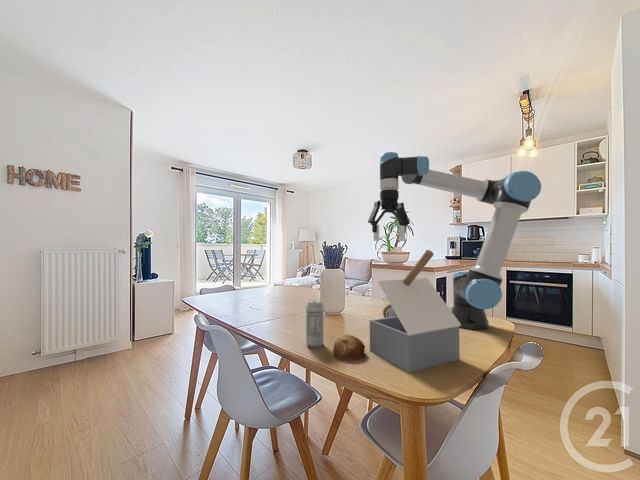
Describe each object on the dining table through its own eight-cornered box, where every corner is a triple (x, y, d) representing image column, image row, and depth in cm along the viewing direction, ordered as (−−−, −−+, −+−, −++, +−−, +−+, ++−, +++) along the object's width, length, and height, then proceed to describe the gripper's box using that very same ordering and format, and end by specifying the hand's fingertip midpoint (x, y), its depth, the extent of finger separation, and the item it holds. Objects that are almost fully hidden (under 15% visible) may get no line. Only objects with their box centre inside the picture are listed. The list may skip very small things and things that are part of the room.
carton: (415, 341, 101) (415, 313, 101) (459, 359, 85) (459, 326, 85) (369, 350, 92) (369, 320, 92) (409, 372, 76) (409, 335, 76)
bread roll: (338, 359, 94) (327, 337, 95) (365, 346, 94) (355, 324, 94) (339, 372, 84) (327, 348, 85) (369, 358, 84) (358, 333, 85)
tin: (417, 323, 126) (416, 304, 126) (418, 324, 123) (418, 305, 123) (383, 322, 127) (382, 303, 127) (383, 324, 124) (383, 305, 124)
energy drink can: (325, 342, 100) (325, 300, 100) (320, 348, 94) (320, 304, 94) (309, 341, 101) (309, 299, 102) (303, 347, 95) (303, 303, 96)
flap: (425, 279, 97) (450, 249, 88) (459, 326, 85) (493, 297, 76) (378, 282, 88) (400, 249, 79) (408, 335, 76) (439, 303, 67)
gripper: (405, 194, 126) (406, 241, 126) (359, 189, 115) (359, 240, 115) (418, 191, 119) (418, 240, 119) (370, 185, 109) (370, 240, 108)
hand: (389, 240), depth 117 cm, fingers open, 13 cm apart
